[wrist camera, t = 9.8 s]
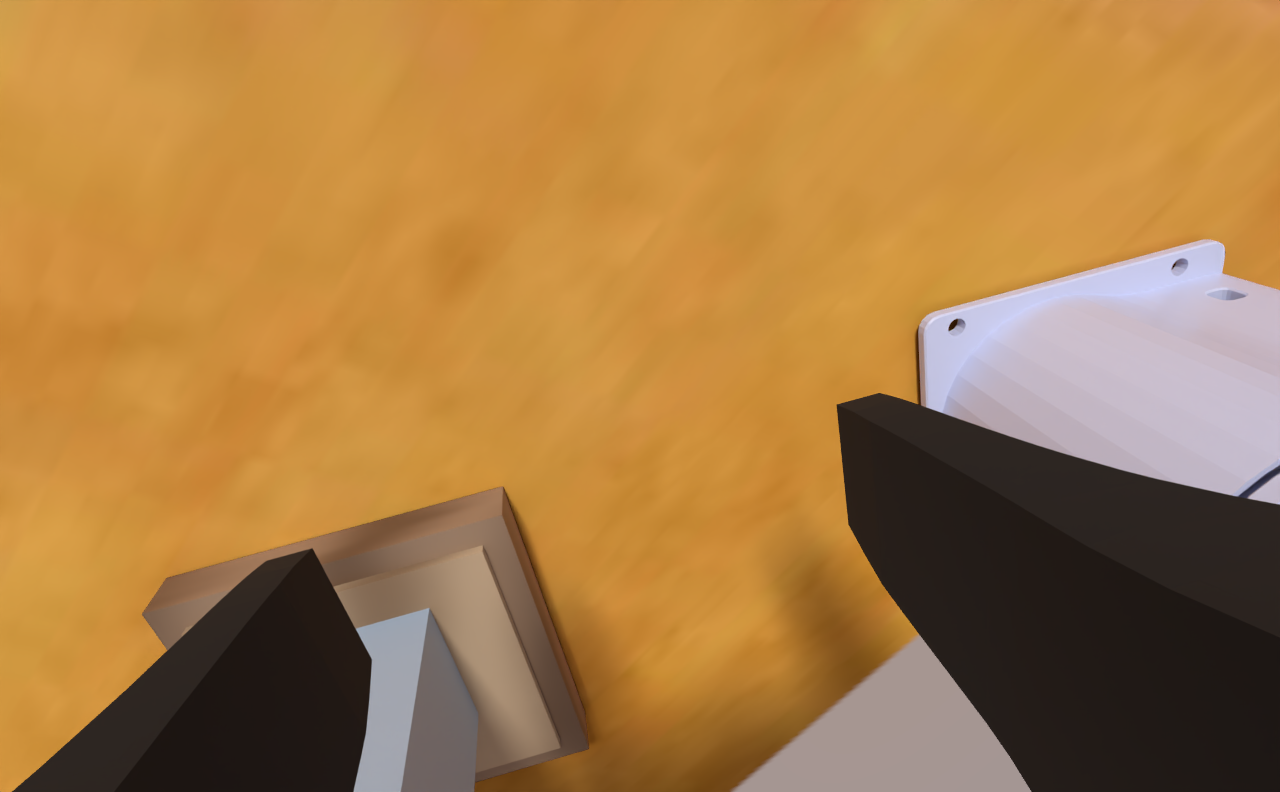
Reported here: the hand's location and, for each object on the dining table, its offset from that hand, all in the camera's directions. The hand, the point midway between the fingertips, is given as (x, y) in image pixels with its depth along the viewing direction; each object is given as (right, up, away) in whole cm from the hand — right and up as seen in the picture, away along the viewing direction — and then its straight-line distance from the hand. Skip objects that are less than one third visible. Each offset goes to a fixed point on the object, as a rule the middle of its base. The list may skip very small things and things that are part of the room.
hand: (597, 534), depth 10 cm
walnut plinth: (-7, -6, +13) cm, 16 cm away
